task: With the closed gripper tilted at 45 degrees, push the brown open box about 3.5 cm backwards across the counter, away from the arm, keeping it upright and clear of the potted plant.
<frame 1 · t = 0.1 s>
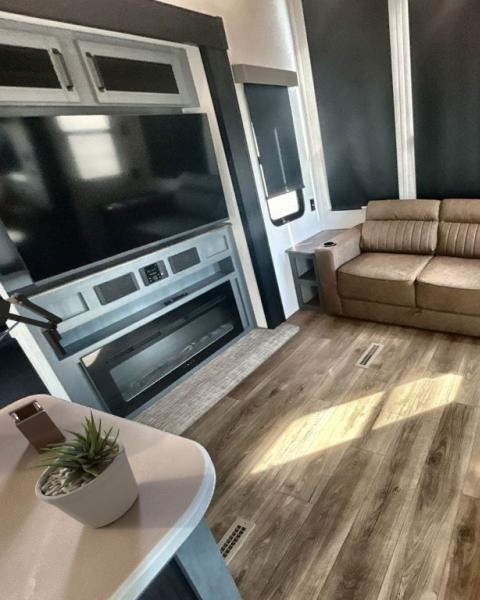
hand: (28, 372, 80), 18 cm above the table, tool pointing down, fingers open, 13 cm apart
brown open box: (48, 439, 87), on the table
potted plant: (115, 506, 69), on the table
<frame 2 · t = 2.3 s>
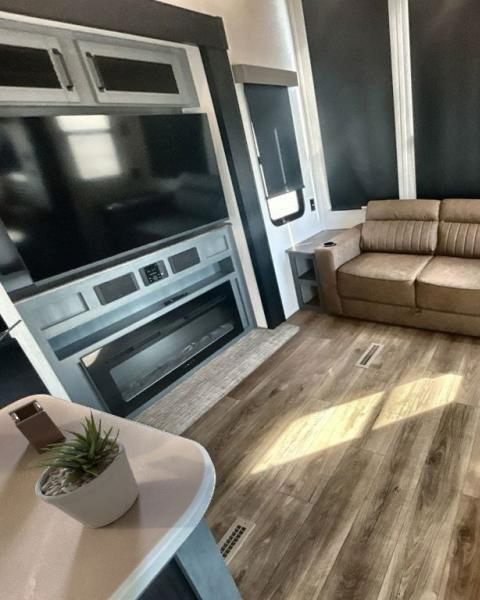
nothing on the table moved.
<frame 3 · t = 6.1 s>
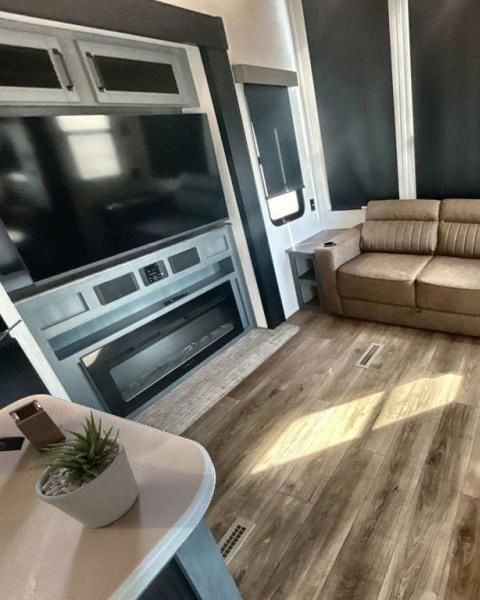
hand: (21, 443, 82), 3 cm above the table, tool tilted 45°, fingers closed
brown open box: (48, 439, 87), on the table, touching gripper
everything else where it was.
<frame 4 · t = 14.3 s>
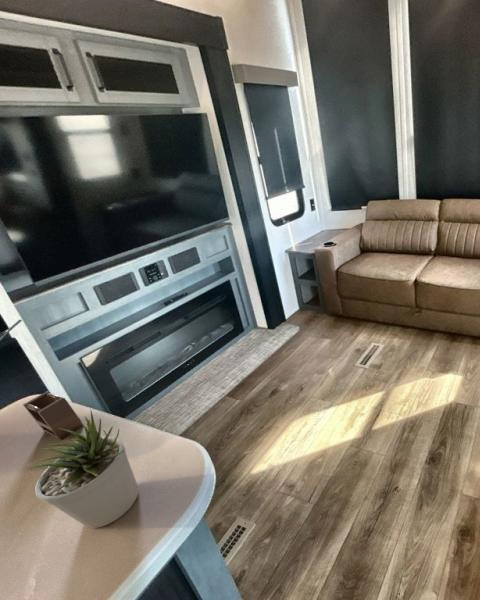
brown open box: (64, 428, 90), on the table
everything else where it was.
at the end: brown open box 1.9 cm from the target spot, on the table; brown open box tilted 0°; brown open box touching table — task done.
